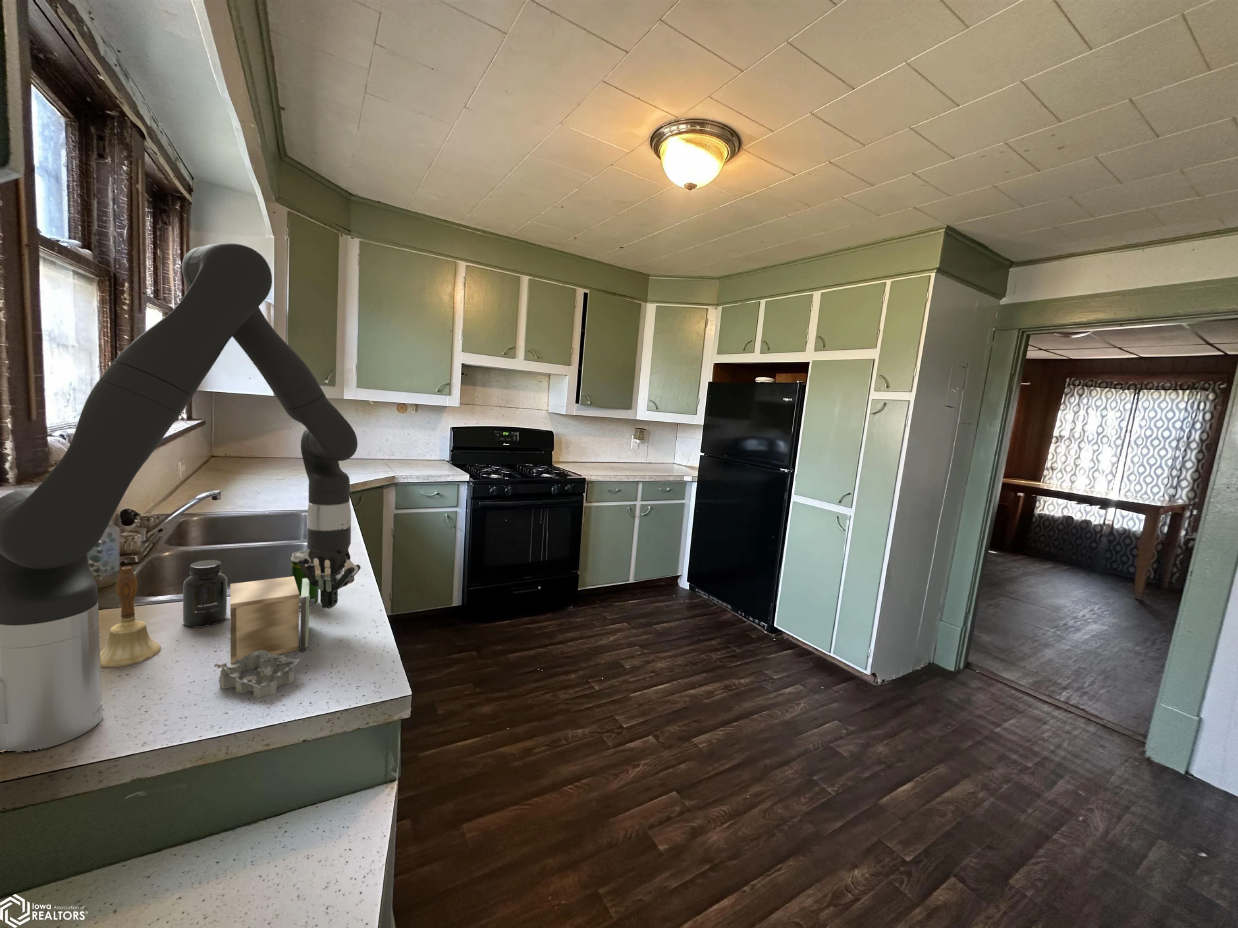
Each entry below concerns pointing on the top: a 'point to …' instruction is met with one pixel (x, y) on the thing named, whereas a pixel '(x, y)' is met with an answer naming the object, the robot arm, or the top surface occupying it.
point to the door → (308, 602)
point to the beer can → (302, 576)
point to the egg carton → (258, 673)
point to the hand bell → (128, 629)
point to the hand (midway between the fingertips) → (329, 606)
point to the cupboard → (266, 617)
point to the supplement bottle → (204, 594)
